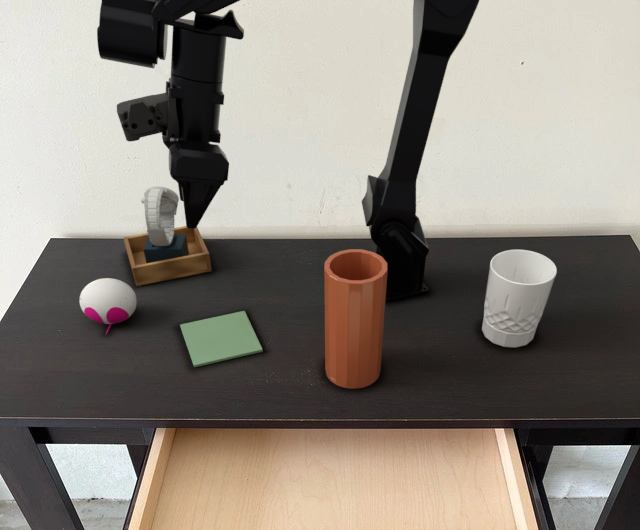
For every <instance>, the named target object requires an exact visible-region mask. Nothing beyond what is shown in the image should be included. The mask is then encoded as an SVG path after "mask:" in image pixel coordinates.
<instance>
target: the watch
mask: <svg viewBox="0 0 640 530" xmlns="http://www.w3.org/2000/svg"><path fill="white" fill-rule="evenodd" d="M179 200H180V196H179V195H178V194H177V192H175V191H174V190H173V189H170V188H169V187H166V186H158V185H156V186H150V187H148V188H146V189H145V190H144V193H143V197H141V198H140V202H141V204H143V206H144V218H145V224H146V233H148V235H149V236H148V239H147V241H146V244H145V246H144V249H143V250H144V254H145V259H146V263H152V262H157V261H162V260H167V259H172V258H178V257H183V256H188V254H189V250H188V244H187V238H186V234H174V228H175V216H176V215H177V210H178V205H179Z"/></svg>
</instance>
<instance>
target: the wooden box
mask: <svg viewBox="0 0 640 530" xmlns="http://www.w3.org/2000/svg"><path fill="white" fill-rule="evenodd" d="M174 234H186V238H187V244H188V250H189V254H188V256H183V257H178V258H172V259H167V260H162V261H157V262H152V263H146V259H145V254H144V250H143V249H144V246H145V244H146V241H147V239H148V236H149V235H148V233H147V232H145V233H140V234H134V235H129V236H128V235H127V236H124V237H123V242H124V246H125V249H126V250H125V251H126V253H127V258H128V261H129V265H130V268H131V272H132V275H133V279H134V282H135V285H136V287H140V286H145V285H148V284H153V283H154V284H155V283H158V282H164V281H169V280H173V279H180V278H184V277H189V276H193V275H199V274H204V273H209V272H212V270H213V269H212V262H211V257H210V252H209V250H208V248H207V246H206V243H205V241H204V239H203V237H202V234H201V232H200V230H199V228H198V226H197V227H196V228H195V229H192V228H187V226H186V225H184V226H183V225H182V226H178V227H174Z"/></svg>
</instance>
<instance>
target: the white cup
mask: <svg viewBox="0 0 640 530" xmlns="http://www.w3.org/2000/svg"><path fill="white" fill-rule="evenodd" d="M557 273H558V268H557V266H556V264H555V262H554V261H553V260H551V259H550V258H549V257H547V256H545V255H544V254H542V253H539V252H537V251H532V250H527V249H508V250H504V251H501V252H499V253H497V254H495V255H494V256H493V257H492V258H491V259H490V263H489V269H488V276H487V283H486V289H485V296H484V297H485V298H484V305H483V320H482V326H481V331H482V333H483V336H484V337H485V338H486V339H487V340H488V341H489V342H491V343H492V344H495V345H497V346H501V347H503V348H520V347H524V346H527V345H528V344H529V343H531V342H532V341H533V340H534V337H535V334H536V331H537V328H538V326H539V323H540V322H541V320H542V316H543V314H544V311H545V308H546V306H547V304H548V300H549V297H550V294H551V291H552V288H553V285H554V282H555V280H556V276H557Z"/></svg>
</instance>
